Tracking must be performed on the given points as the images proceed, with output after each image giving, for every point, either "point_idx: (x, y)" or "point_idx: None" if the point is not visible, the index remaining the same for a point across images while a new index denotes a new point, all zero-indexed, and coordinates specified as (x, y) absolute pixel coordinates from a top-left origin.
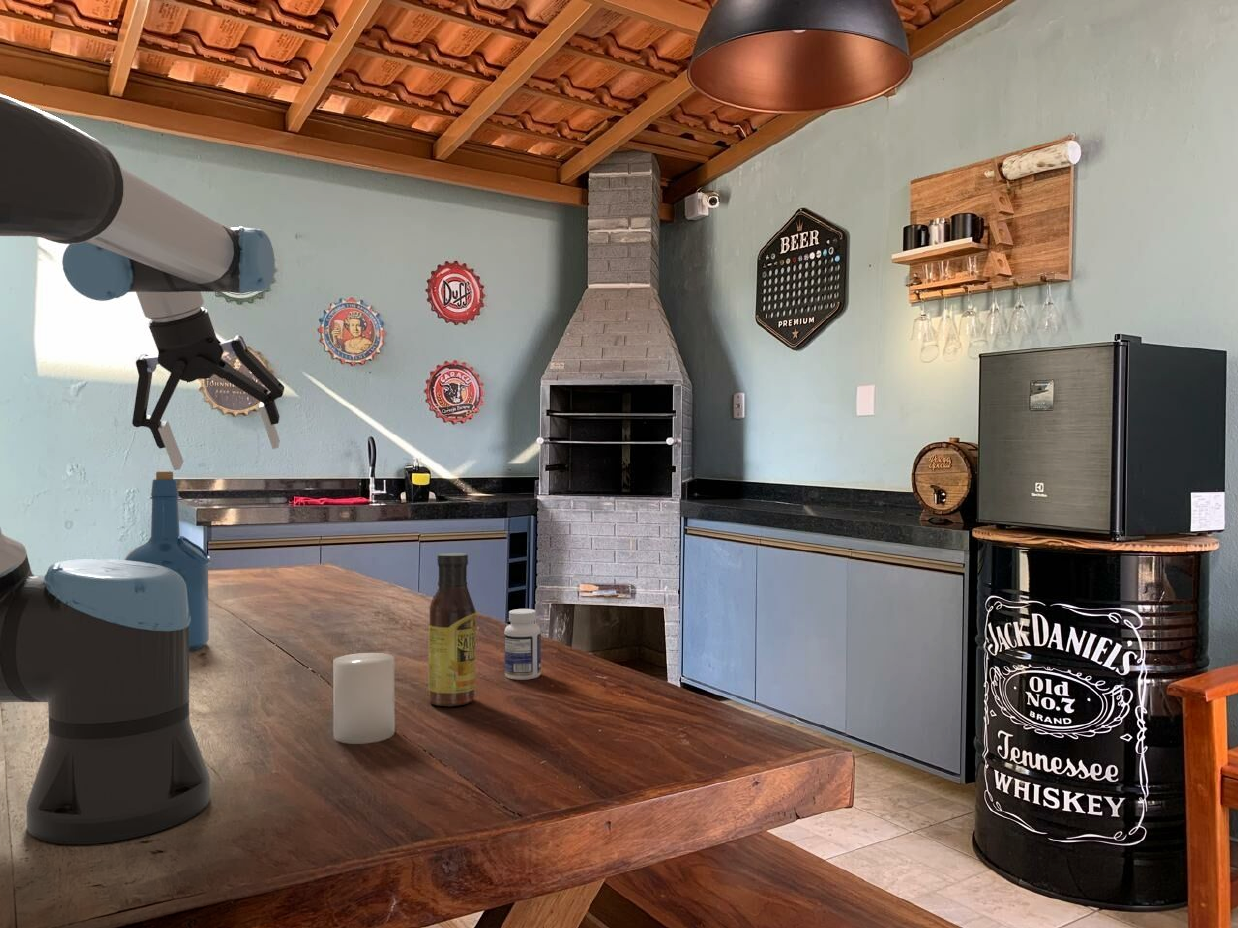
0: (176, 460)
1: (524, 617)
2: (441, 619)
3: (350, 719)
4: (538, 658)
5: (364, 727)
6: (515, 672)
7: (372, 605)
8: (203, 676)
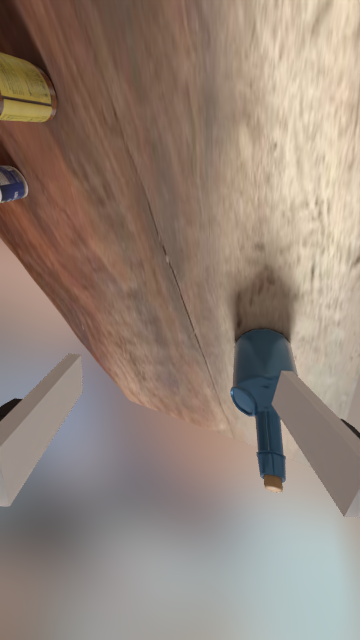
0: (293, 382)
1: None
2: None
3: None
4: None
5: None
6: (11, 168)
7: (148, 392)
8: (240, 262)
